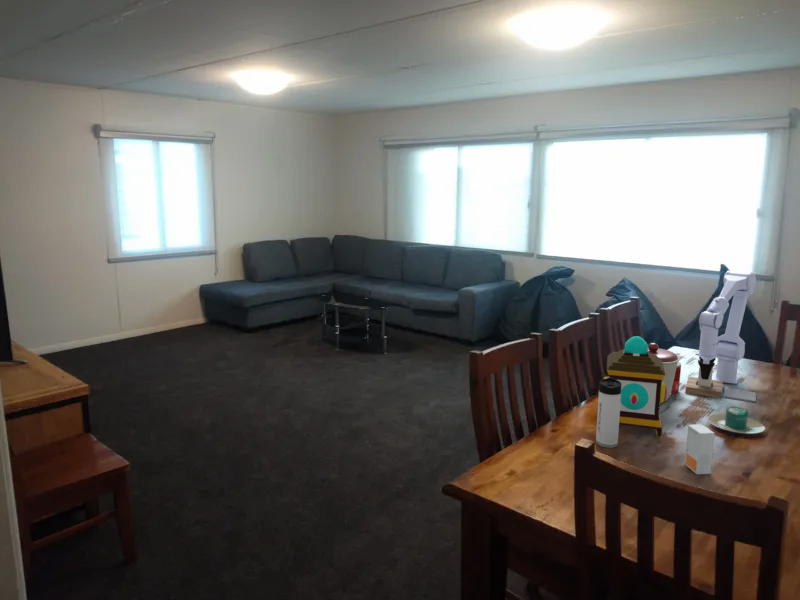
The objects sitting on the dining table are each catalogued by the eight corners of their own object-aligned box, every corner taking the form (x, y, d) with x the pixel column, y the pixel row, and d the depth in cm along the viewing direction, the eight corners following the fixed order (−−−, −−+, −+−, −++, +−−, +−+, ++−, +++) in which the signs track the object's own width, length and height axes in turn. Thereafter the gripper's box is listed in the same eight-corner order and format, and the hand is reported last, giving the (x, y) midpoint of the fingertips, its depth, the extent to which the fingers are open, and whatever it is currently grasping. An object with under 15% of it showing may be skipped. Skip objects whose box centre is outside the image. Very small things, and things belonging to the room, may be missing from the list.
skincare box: (683, 464, 162) (687, 424, 160) (698, 463, 163) (702, 423, 160) (696, 475, 156) (700, 433, 154) (711, 474, 157) (715, 432, 154)
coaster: (725, 389, 222) (725, 388, 222) (755, 394, 217) (755, 392, 217) (724, 397, 214) (724, 396, 214) (755, 402, 209) (756, 400, 209)
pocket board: (688, 382, 231) (688, 376, 231) (722, 387, 225) (722, 381, 225) (685, 392, 219) (685, 386, 219) (721, 398, 214) (721, 391, 213)
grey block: (698, 382, 225) (699, 365, 224) (711, 384, 223) (713, 366, 222) (697, 385, 221) (699, 368, 220) (710, 387, 219) (712, 370, 218)
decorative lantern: (597, 432, 185) (603, 341, 179) (599, 410, 203) (604, 327, 197) (666, 440, 178) (674, 346, 172) (661, 417, 196) (668, 331, 190)
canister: (669, 411, 201) (674, 352, 198) (616, 400, 212) (620, 344, 208) (681, 396, 216) (686, 341, 212) (631, 387, 226) (634, 334, 222)
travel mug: (617, 440, 178) (621, 378, 174) (617, 449, 172) (622, 385, 168) (595, 437, 180) (599, 376, 176) (595, 446, 174) (599, 383, 170)
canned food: (674, 387, 226) (676, 359, 224) (682, 394, 218) (684, 366, 216) (654, 386, 227) (656, 359, 225) (661, 393, 219) (663, 365, 217)
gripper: (697, 337, 227) (694, 370, 230) (695, 346, 215) (692, 381, 217) (718, 339, 224) (715, 373, 226) (716, 348, 211) (713, 384, 214)
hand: (705, 377), depth 222 cm, fingers closed on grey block, 4 cm apart
